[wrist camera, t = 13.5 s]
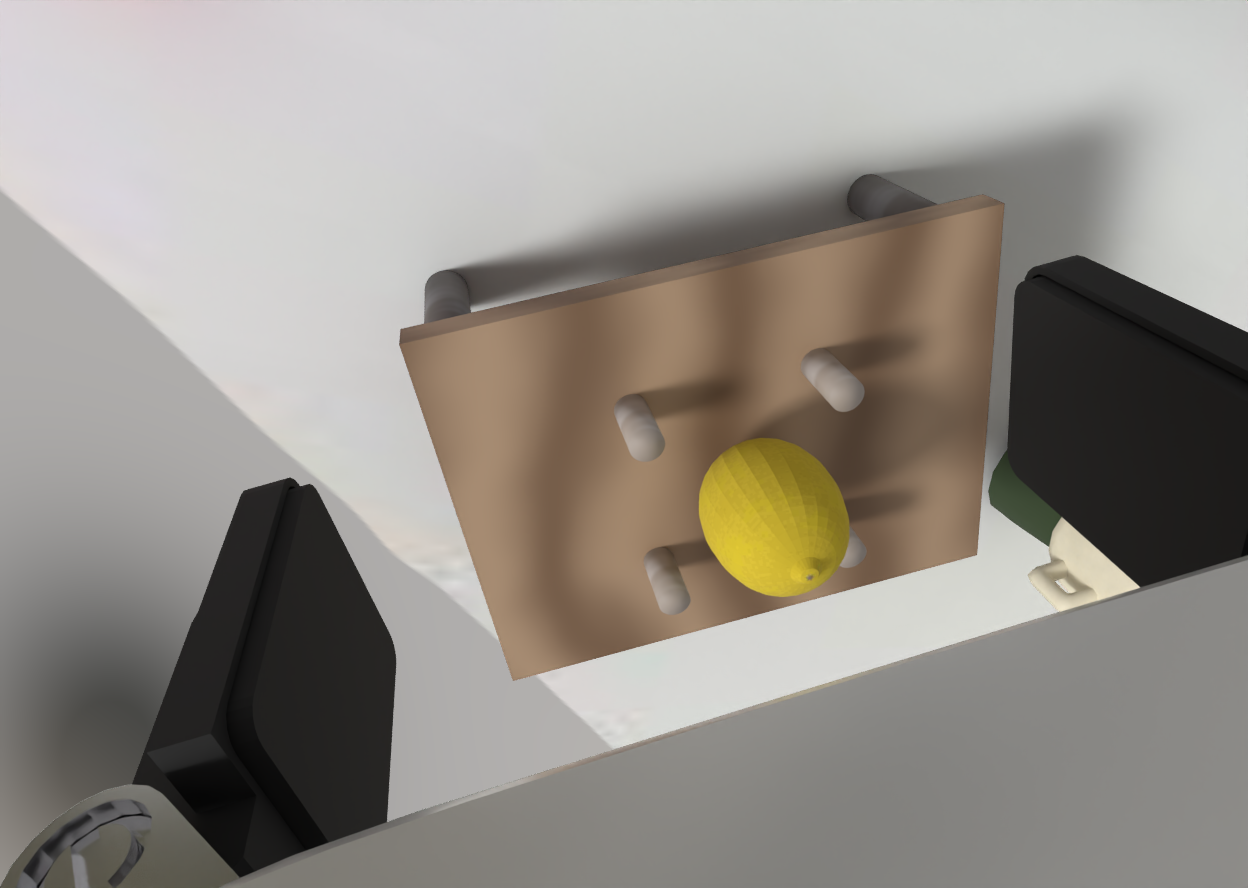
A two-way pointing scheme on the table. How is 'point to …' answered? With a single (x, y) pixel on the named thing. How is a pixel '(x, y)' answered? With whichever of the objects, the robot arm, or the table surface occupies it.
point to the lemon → (774, 517)
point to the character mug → (1056, 546)
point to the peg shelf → (712, 418)
